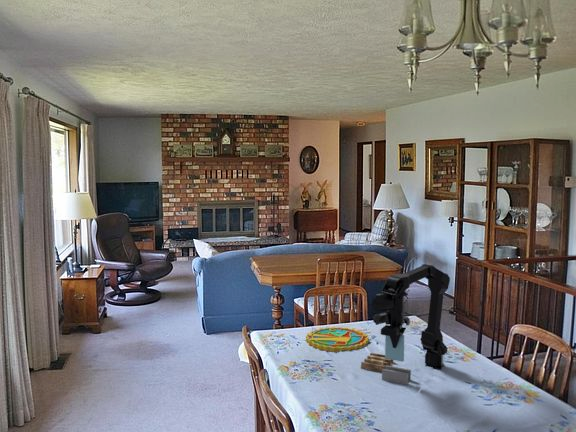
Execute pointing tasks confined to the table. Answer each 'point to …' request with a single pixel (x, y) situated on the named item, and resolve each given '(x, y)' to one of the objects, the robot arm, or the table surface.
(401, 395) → the table surface
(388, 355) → the tall sheet
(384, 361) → the offcut front
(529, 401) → the table surface
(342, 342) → the decorative plaque
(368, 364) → the rack
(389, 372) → the holder
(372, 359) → the offcut small
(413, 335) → the table surface
